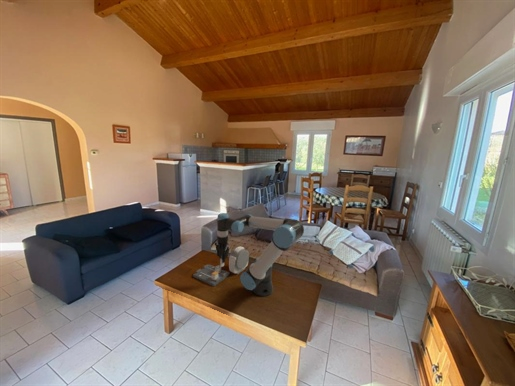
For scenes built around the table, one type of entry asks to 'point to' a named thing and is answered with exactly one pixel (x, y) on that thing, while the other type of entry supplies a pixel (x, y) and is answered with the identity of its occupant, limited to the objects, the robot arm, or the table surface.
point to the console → (210, 275)
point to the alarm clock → (238, 260)
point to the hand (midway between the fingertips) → (222, 266)
